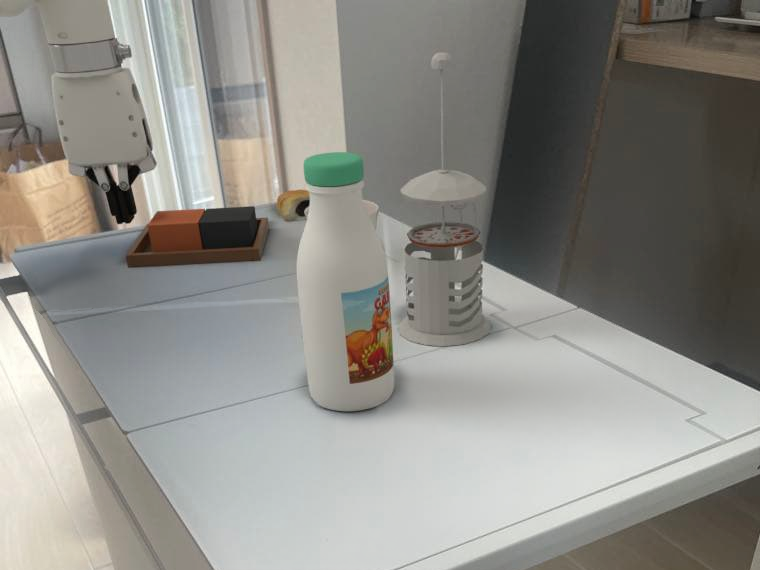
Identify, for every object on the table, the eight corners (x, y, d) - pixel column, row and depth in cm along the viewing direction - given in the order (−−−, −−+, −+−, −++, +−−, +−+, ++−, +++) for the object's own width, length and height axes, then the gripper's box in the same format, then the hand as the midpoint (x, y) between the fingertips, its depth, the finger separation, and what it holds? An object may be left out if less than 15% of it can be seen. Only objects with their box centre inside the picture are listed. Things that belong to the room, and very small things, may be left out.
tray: (129, 272, 105) (125, 255, 104) (150, 239, 116) (146, 223, 115) (260, 265, 106) (258, 248, 104) (269, 232, 117) (267, 217, 115)
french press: (381, 338, 86) (365, 59, 71) (427, 299, 94) (421, 41, 79) (471, 352, 82) (474, 61, 67) (510, 310, 91) (520, 43, 76)
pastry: (268, 210, 126) (265, 183, 123) (311, 204, 128) (309, 178, 125) (286, 226, 119) (283, 198, 116) (331, 220, 121) (329, 192, 118)
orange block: (153, 257, 108) (147, 225, 106) (163, 241, 113) (156, 211, 111) (203, 254, 108) (197, 222, 106) (210, 239, 113) (205, 208, 111)
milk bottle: (319, 420, 72) (291, 173, 60) (302, 382, 78) (274, 152, 66) (405, 405, 74) (394, 162, 62) (382, 370, 80) (368, 142, 68)
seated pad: (204, 254, 108) (198, 222, 106) (211, 239, 113) (206, 208, 111) (254, 251, 108) (249, 219, 106) (258, 236, 113) (254, 205, 111)
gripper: (156, 50, 100) (188, 208, 111) (32, 58, 100) (76, 216, 111) (144, 59, 94) (178, 225, 105) (11, 68, 94) (60, 233, 105)
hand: (126, 220), depth 108 cm, fingers closed
